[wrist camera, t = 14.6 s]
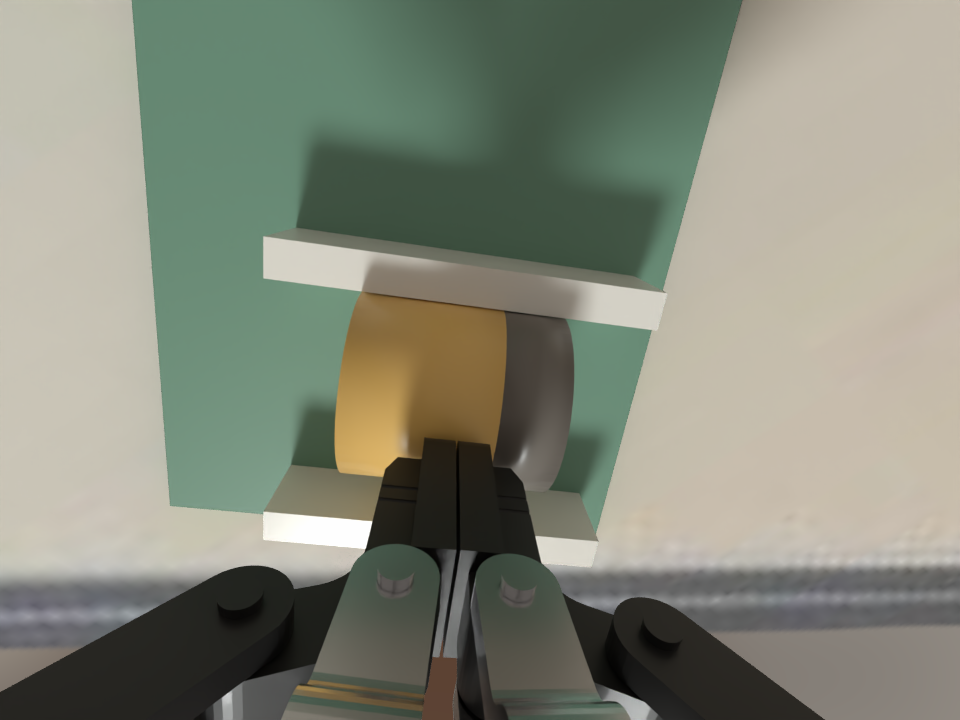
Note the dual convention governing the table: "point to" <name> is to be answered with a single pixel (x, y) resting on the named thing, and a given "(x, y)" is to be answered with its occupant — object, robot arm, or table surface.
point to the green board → (400, 193)
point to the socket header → (458, 280)
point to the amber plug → (453, 385)
